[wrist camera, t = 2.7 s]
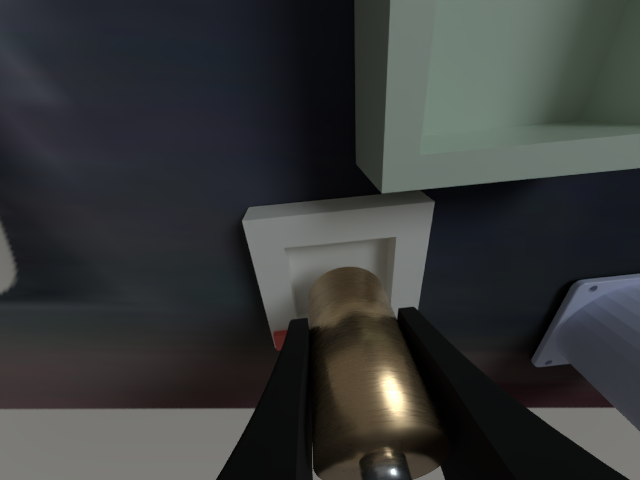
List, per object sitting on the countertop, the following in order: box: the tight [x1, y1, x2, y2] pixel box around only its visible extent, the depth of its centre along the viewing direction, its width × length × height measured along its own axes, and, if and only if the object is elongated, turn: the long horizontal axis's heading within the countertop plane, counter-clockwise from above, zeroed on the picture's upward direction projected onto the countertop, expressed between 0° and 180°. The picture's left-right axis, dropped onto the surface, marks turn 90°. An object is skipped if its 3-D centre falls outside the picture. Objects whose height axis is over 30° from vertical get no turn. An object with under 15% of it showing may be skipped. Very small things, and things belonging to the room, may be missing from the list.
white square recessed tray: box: [242, 190, 435, 351], centre depth 13 cm, size 8×8×2 cm
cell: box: [308, 267, 452, 480], centre depth 9 cm, size 4×4×6 cm
